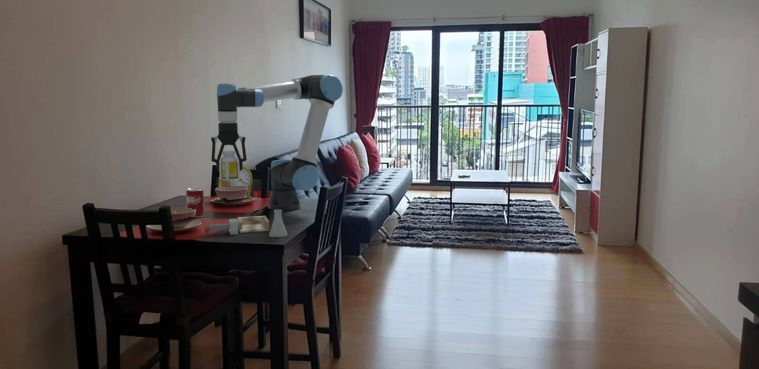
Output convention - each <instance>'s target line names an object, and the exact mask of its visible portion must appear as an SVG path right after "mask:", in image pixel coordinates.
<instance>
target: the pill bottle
mask: <svg viewBox="0 0 759 369" xmlns="http://www.w3.org/2000/svg"><path fill="white" fill-rule="evenodd" d="M235 155H236V152H235V150H223V152H222V156H223V157H221V158H220V163H221V173H222V180H227V181H230V180H237V179H238V168H237V162H238V157H237V156H235Z"/></svg>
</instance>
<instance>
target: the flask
mask: <svg viewBox="0 0 759 369" xmlns="http://www.w3.org/2000/svg"><path fill="white" fill-rule="evenodd" d="M282 212H283V211H282V210H273V213H274V215H273V221H272V224H271V227H270V229H269V230H270V231H269V233H268V236H269V237H270V238H275V237H277V238H278V237H279V238H286V237H287V236H289V233H288V232H287V229H286V225H285V224H284V220H283V216H282ZM279 238H278V239H279Z"/></svg>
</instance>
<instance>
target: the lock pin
mask: <svg viewBox="0 0 759 369" xmlns="http://www.w3.org/2000/svg"><path fill="white" fill-rule="evenodd" d="M203 226H204V234H206V233H210V231H220V230H221V231H223V230H229V229H230V224H229V223H216V224H209V223H208V222H206V223H205V222H204V223H203ZM239 229H240V223H238V230H239Z"/></svg>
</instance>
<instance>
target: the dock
mask: <svg viewBox="0 0 759 369" xmlns="http://www.w3.org/2000/svg"><path fill="white" fill-rule="evenodd" d="M236 219H237V221H238V223H240V229H238V232H239V233H240V234H241V233H254V232H255V233H256V232H270V230H271V229H270V221H269V218H267V216H266V215H258V216H238V217H236Z"/></svg>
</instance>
